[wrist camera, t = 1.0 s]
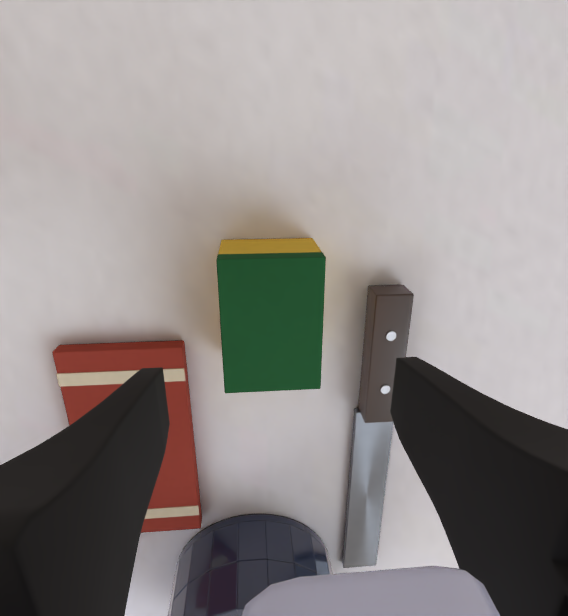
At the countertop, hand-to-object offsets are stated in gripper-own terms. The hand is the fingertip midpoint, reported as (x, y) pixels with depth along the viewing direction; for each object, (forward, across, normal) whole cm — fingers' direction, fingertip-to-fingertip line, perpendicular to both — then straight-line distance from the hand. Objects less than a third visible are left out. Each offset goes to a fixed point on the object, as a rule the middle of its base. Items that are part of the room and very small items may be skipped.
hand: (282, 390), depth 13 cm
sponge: (+8, 0, 0) cm, 8 cm away
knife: (+8, -6, +10) cm, 14 cm away
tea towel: (+8, +7, +8) cm, 13 cm away
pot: (+8, +1, +19) cm, 21 cm away
